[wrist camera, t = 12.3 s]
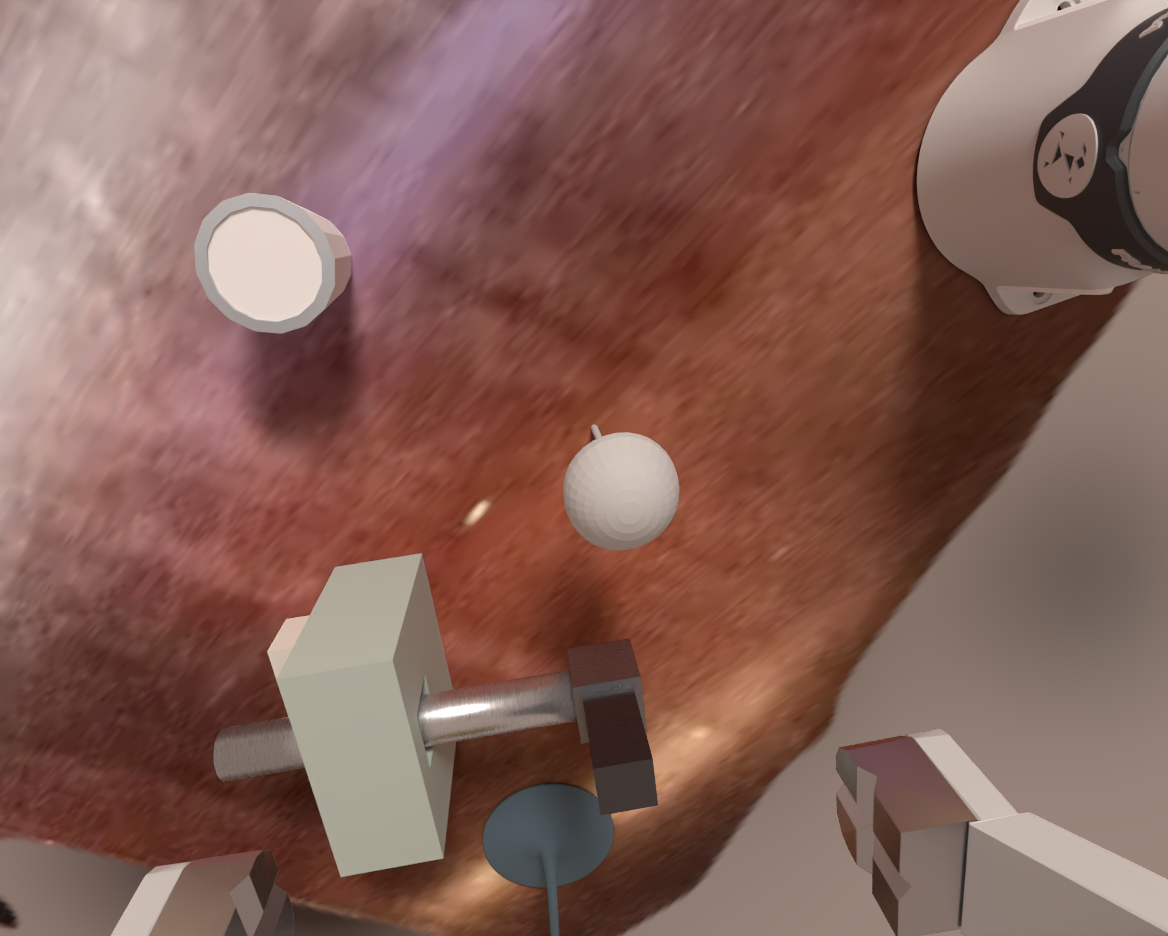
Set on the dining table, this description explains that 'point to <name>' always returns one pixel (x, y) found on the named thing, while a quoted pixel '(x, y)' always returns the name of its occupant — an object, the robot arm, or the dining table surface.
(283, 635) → the block
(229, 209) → the white cup
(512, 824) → the cocktail glass
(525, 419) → the dining table surface
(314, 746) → the grey slotted block
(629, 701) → the hammer
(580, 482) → the lollipop
